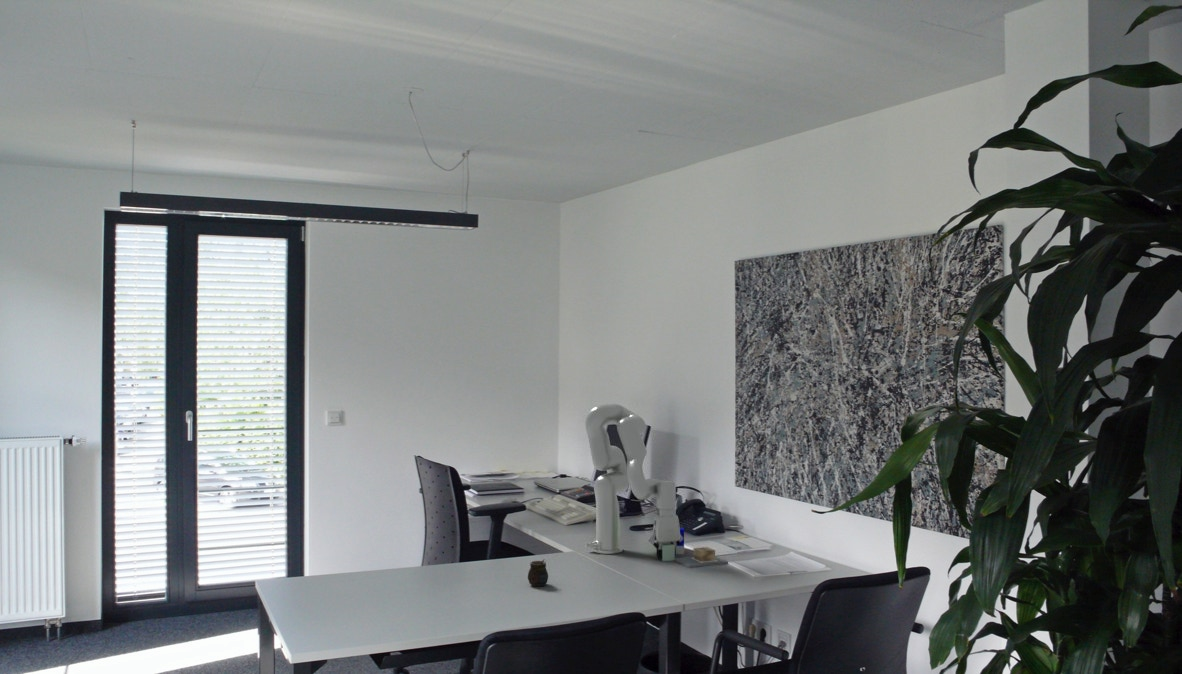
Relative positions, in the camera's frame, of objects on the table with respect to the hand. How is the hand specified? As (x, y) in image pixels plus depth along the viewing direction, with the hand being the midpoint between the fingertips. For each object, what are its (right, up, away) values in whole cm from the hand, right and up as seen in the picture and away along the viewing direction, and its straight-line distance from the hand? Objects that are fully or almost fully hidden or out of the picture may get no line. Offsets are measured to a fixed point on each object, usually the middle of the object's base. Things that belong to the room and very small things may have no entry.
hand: (666, 557), depth 346 cm
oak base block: (+15, 0, -4) cm, 15 cm away
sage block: (0, -1, 0) cm, 1 cm away
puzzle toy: (+3, -1, +14) cm, 14 cm away
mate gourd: (-48, 0, -38) cm, 62 cm away
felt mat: (+13, 0, -5) cm, 14 cm away
